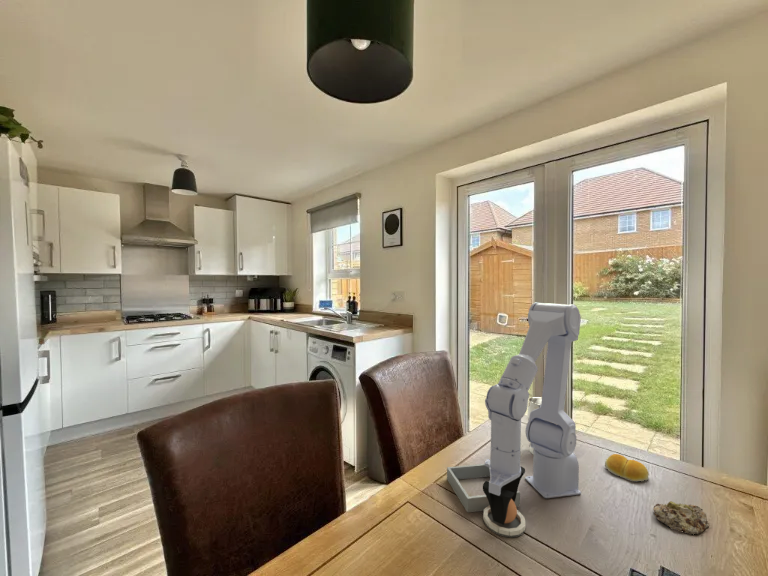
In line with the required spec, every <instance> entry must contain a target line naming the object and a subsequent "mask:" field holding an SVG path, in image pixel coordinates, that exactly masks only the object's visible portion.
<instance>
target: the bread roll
mask: <svg viewBox="0 0 768 576" xmlns="http://www.w3.org/2000/svg"><path fill="white" fill-rule="evenodd" d="M604 467H605V469H606V470H607V469H608V470H607V471H609V472H610V473H611V474H613V475H614V476H618V477H619V476H620V478H623V479H625V480H627V479H628V481H629V480H631V481H630V482H633V481H641V482H645V481H644V480H646V481H648V479H649V475H650V473H649V471H648V467H646V465H644V464H643V463H641V462H640V461H637V460H634V459H628V458H627V457H626V456H624V455H622V454H619V453H613V454H611V455H610V456H608V457H607V458H606V459H605V461H604Z"/></svg>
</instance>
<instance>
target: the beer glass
mask: <svg viewBox="0 0 768 576" xmlns="http://www.w3.org/2000/svg"><path fill="white" fill-rule="evenodd" d="M541 401H542V396H541V397H539V396H533V397H529V398H528V406H527V421H528V420H529V416H530V412H532V411H533V410H535V409H537V408H540V407H541ZM528 446H529V447H528V452H529V454H531V455H533V451H534V448H532V447H531V442H529V445H528Z"/></svg>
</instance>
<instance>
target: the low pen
mask: <svg viewBox="0 0 768 576" xmlns="http://www.w3.org/2000/svg"><path fill="white" fill-rule="evenodd" d="M486 477H490V470H489V467H486V466H485V463H477V464H468V465H467V464H466V465H456V466H447V467H446V480H447V482H448V483H449V485H450V486H451V488H452V490H453V492H454V493H455V495H456V497H457V498H458V500H459V501H460V503H461V504H462V506H463V508H464V509H465V511H466V512H467V513H474V512H482V511H483V512H484V509H485V508H486V507H487V506H489V501H488V499H487V497H486V495H485V494H480V495H479V494H478V495H471V496H470V495H469V494H468V492H467V491H466V490H465V488H464V487H463V486H462V484H461V482H460V481H459V480H468V479H476V478H477V479H478V478H486ZM514 503H515V505H516V507H520V505H521V492H520V491H519V490H517V495H516V499H515V502H514Z"/></svg>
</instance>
